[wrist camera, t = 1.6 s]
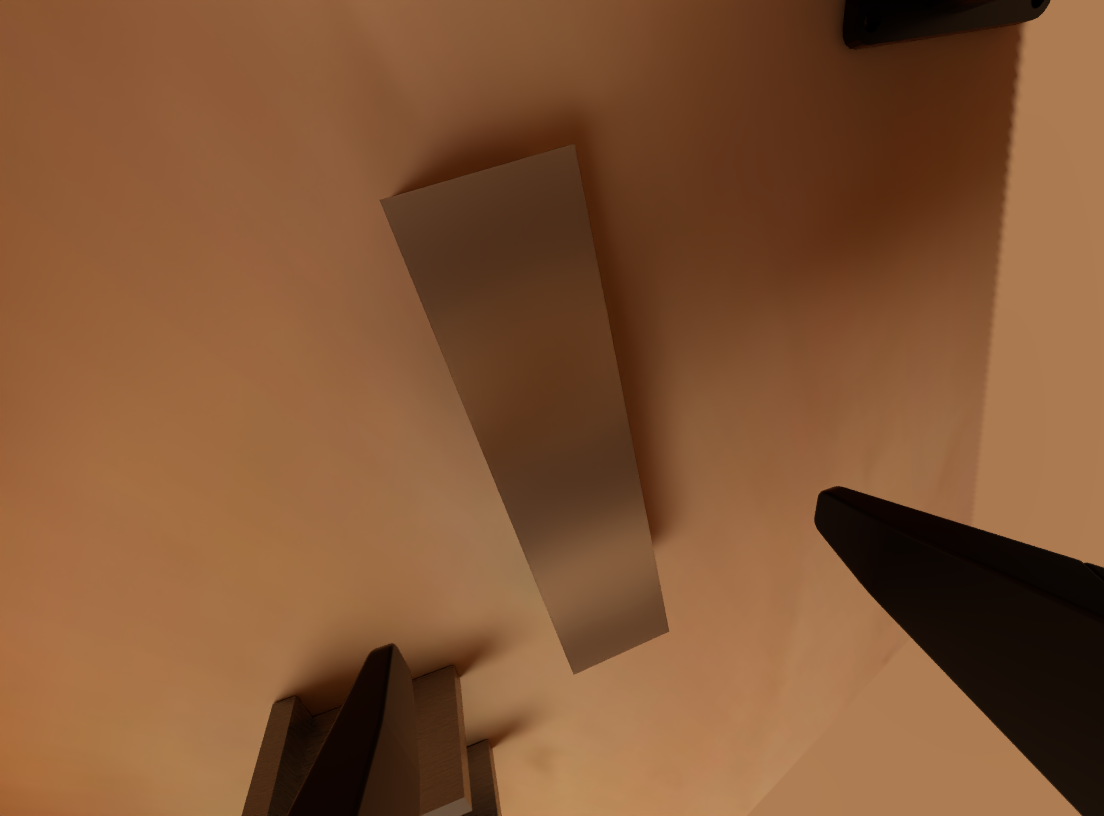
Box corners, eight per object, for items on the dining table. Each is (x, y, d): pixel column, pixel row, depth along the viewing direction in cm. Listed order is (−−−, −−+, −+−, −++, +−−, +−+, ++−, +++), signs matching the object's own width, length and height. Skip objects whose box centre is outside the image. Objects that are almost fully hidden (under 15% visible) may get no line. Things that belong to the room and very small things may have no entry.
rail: (390, 198, 11) (379, 200, 7) (529, 158, 11) (574, 143, 8) (546, 591, 18) (573, 674, 15) (625, 557, 18) (669, 631, 15)
